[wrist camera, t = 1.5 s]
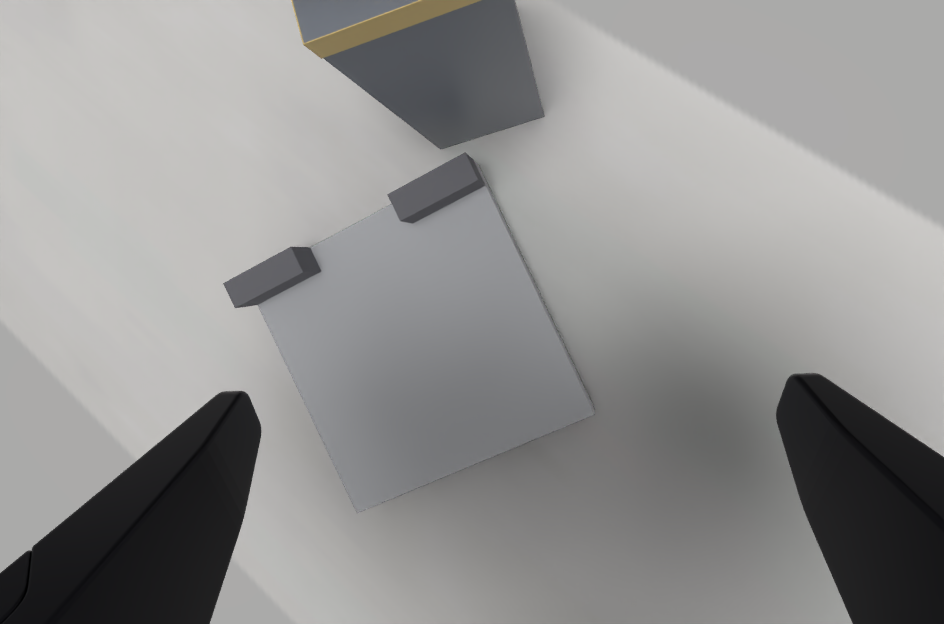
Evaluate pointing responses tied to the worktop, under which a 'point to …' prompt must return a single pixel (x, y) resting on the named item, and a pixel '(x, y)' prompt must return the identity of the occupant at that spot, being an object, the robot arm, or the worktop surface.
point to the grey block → (430, 60)
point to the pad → (418, 337)
